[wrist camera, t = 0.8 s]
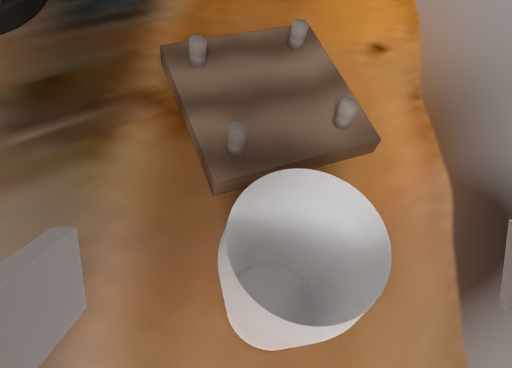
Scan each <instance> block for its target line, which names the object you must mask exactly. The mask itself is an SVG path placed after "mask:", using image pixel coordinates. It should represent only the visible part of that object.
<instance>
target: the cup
mask: <svg viewBox="0 0 512 368" xmlns="http://www.w3.org/2000/svg"><path fill="white" fill-rule="evenodd" d="M391 262H392V252H391V244H390V240H389V236H388V233H387V230H386V227H385V225H384V223H383V221H382V219H381V217H380V215H379V214H378V212H377V211H376V209H375V208H374V206H373V205H372V204H371V203H370V201H369V200H368V199H367V198H366V197H365V196H364V195H363V194H362V193H360V192H359V191H358V190H357V189H356V188H354V187H353V186H351V185H350V184H348V183H347V182H345V181H343V180H342V179H340V178H338V177H335V176H333V175H330V174H328V173H325V172H321V171H317V170H312V169H299V168H296V169H285V170H280V171H276V172H273V173H270V174H267V175H265V176H263V177H261V178H259V179H258V180H256V181H255V182H253V183H252V184H251V185H249V186H248V187H247V188H246V189H245V190H244V191H243V192H242V193H241V195H240V196H239V197H238V199H237V200H236V202H235V204H234V205H233V207H232V210H231V212H230V215H229V218H228V221H227V224H226V227H225V229H224V231H223V234H222V237H221V240H220V244H219V250H218V271H219V278H220V283H221V288H222V293H223V298H224V302H225V307H226V312H227V316H228V319H229V322H230V324H231V326H232V328H233V329H234V331H235V332H236V333H237V334H238V336H239V337H240V338H241V339H243V340H244V341H245V342H246V343H248V344H250V345H251V346H253V347H256V348H259V349H262V350H269V351H276V350H283V349H288V348H293V347H298V346H303V345H309V344H314V343H318V342H322V341H326V340H328V339H331V338H333V337H336V336H337V335H339V334H341V333H343V332H344V331H346V330H347V329H349V328H350V327H351V326H352V325H353V324H355V323H356V321H357V320H358V319H359V318H360V317H361V316H362V315H363V314H364V313H365V312H366V311H367V310H368V309H369V308H370V307H371V306H372V305H373V304H374V303H375V302H376V301H377V300H378V298H379V297H380V295H381V294H382V292H383V290H384V289H385V286H386V284H387V282H388V278H389V275H390V270H391Z"/></svg>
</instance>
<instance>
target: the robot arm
mask: <svg viewBox="0 0 512 368" xmlns="http://www.w3.org/2000/svg"><path fill="white" fill-rule="evenodd" d="M44 2H45V0H0V34H1V33H4V32H7V31H9V30H11V29H13V28H15V27H17V26H19V25H21V24H23V23H24V22H26V21H27V20H29V19H30V18H31V17H32V16H34V15H35V14H36V13H37V12H38V10H39V9H40V8H41V7H42V5H43V4H44ZM500 304H501V305H502V306H503V307H504V308H505V309H506V310H507V311H508V312H509V313H510V314H511V315H512V220H509V225H508V235H507V243H506V253H505V261H504V269H503V278H502V288H501V296H500ZM86 308H87V304H86V297H85V289H84V281H83V274H82V266H81V258H80V251H79V243H78V235H77V227H51V228H50V229H48V230H47V231H45V232H44V233H43V234H41V235H40V236H38V237H37V238H35V239H34V240H32V241H31V242H29V243H28V244H26V245H25V246H23V247H22V248H20V249H19V250H17V251H16V252H15V253H13V254H12V255H10V256H9V257H7V258H6V259H4V260H3V261H1V262H0V368H39V367H40V365H41V364H42V363H43V362H44V360H45V359H46V358H47V357H48V355H49V354H50V353H51V352H52V350H53V349H54V348H55V347H56V345H57V344H58V343H59V342H60V340H61V339H62V338H63V337H64V335H65V334H66V333H67V332H68V330H69V329H70V328H71V327H72V325H73V324H74V323H75V322H76V320H77V319H78V318H79V317H80V315H81V314H82V313H83V312H84V310H85V309H86Z"/></svg>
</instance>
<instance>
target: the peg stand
mask: <svg viewBox="0 0 512 368" xmlns="http://www.w3.org/2000/svg"><path fill="white" fill-rule="evenodd" d="M160 54H161V63H162V65H163V68H164V71H165V73H166V76H167V78H168V81H169V83H170V86H171V88H172V91H173V94H174V96H175V99H176V101H177V104H178V106H179V109H180V112H181V114H182V117H183V119H184V122H185V124H186V127H187V129H188V132H189V135H190V137H191V140H192V142H193V145H194V147H195V150H196V152H197V155H198V158H199V160H200V163H201V165H202V168H203V170H204V173H205V175H206V178H207V181H208V183H209V186H210V188H211V191H212V193H213V195H217V194H221V193H224V192H228V191H232V190H235V189H239V188H243V187H246V186H249V185H251V184H252V183H253V182H255V181H256V180H258V179H259V178H261V177H263V176H265V175H267V174H270V173H273V172H276V171H280V170H285V169H296V168H299V169H312V168H316V167H320V166H323V165H327V164H331V163H334V162H338V161H342V160H345V159H349V158H353V157H356V156H360V155H364V154H367V153H371V152H373V151H374V150H375V148H376V147H377V145H378V144H379V142H380V141H381V138H380V137H379V135H378V133H377V132H376V130H375V129H374V127H373V126H372V124H371V122H370V121H369V119H368V118H367V116H366V114H365V113H364V111H363V110H362V108H361V107H360V105H359V103H358V102H357V100H356V99H355V97H354V95H353V94H352V92H351V91H350V89H349V88H348V86H347V84H346V83H345V81H344V80H343V78H342V76H341V75H340V73H339V72H338V70H337V69H336V67H335V65H334V64H333V62H332V61H331V59H330V58H329V56H328V54H327V53H326V51H325V50H324V48H323V46H322V45H321V43H320V42H319V40H318V39H317V37H316V35H315V34H314V32H313V31H312V29H311V27H310V26H309V24H308V23H307V22H306V21H304V20H302V19H296V20H294V21H293V23H292V25H290V26H284V27H277V28H271V29H264V30H258V31H252V32H245V33H239V34H232V35H226V36H219V37H213V38H205V37H204V36H202V35H192V36H191V37H190V38H189V41H187V42H181V43H174V44H168V45H161V46H160Z"/></svg>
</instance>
